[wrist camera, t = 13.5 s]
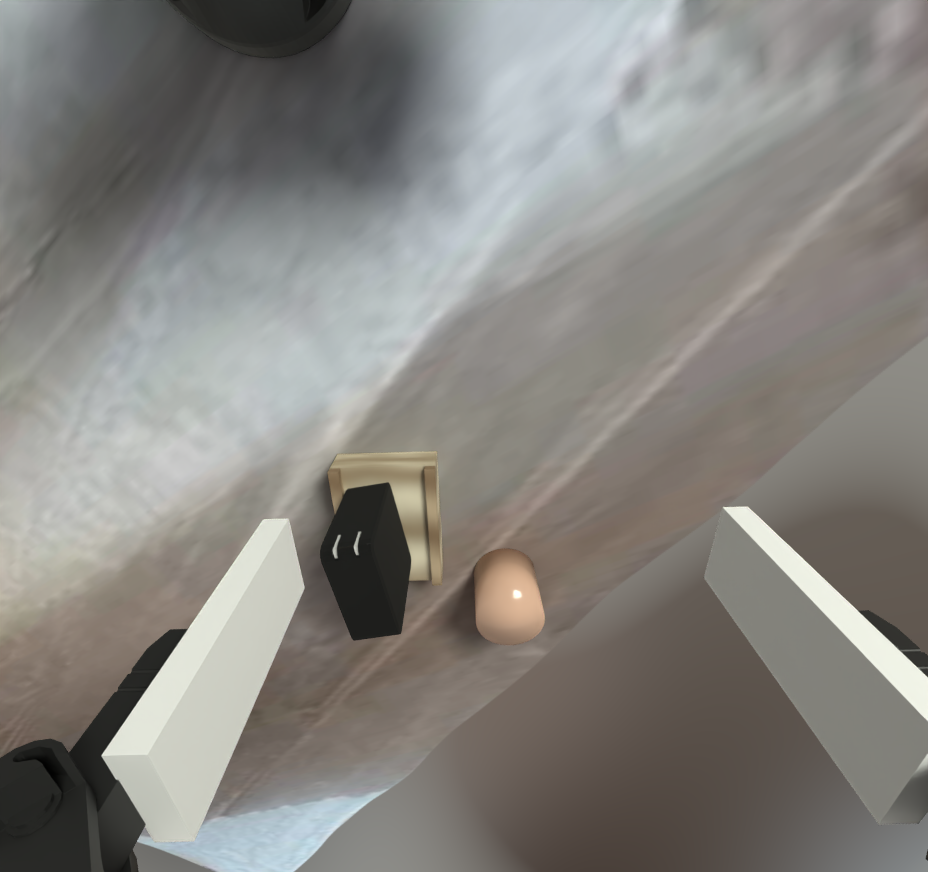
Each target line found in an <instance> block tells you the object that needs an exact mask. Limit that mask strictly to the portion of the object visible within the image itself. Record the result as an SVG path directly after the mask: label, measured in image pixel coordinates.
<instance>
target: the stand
mask: <svg viewBox="0 0 928 872" xmlns="http://www.w3.org/2000/svg"><path fill="white" fill-rule="evenodd" d="M327 473H328V479H329V485H330V490H331V496H332V501H333V507H334V513H335V514H336V512H337V510H338V507H339V505H340V503H341V501H342V498H343V496H344V494H345V491H346V490H347V489H349V488H355V487H362V486H368V485H374V484H380V483H386V482H389V483H390V486H391V489H392V492H393V496H394V499H395V503H396V506H397V509H398V513H399V516H400V520H401V523H402V527H403V530H404V534H405V537H406V541H407V544H408V548H409V551H410V555H411V570H410V577H409V581H415V580H432V585H442V572H443V551H442V534H441V516H440V498H439V481H438V463H437V451H433V452H395V453H357V454H337V456H336V458H335V460H334V462H333V463H332V465H331V467H330V469H329V471H328V472H327Z"/></svg>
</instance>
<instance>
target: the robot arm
mask: <svg viewBox="0 0 928 872" xmlns="http://www.w3.org/2000/svg"><path fill="white" fill-rule="evenodd" d="M166 1H167V2H168V3H169V4H170V5H171V6H172V7H173V8H174V9H175V10H176V11H177V12H178V13H180V14H181V15H182V16H183V17H184V18H185V19H187V20H188V21H189V22H190V23H192V24H193V25H194V26H196V27H197V28H198V29H199V30H201V31H202V32H203V33H205V34H206V35H207V36H209V37H210V38H212V39H213V40H215V41H216V42H218V43H220V44H222V45H223V46H225V47H228V48H230V49H232V50H234V51H237V52H240V53H243V54H246V55H251V56H256V57H266V58H274V57H283V56H288V55H292V54H296V53H298V52H301V51H303V50H305V49H307V48H309V47H311V46H312V45H314V44H316V43H317V42H318V41H320V40H321V39H322V38H324V37H325V36H326V35H327V34H328V33H329V32H330V31H331V30H332V29H333V28H334V27H335V25H336V24H337V23H338V21H339V20H340V19H341V17H342V16H343V14H344V13H345V11H346V9H347V8H348V6H349V4H350V2H351V0H166ZM704 579H705V580H706V581H707V583H708V584H709V586H710V587H711V588H712V590H713V591H714V593H715V594H716V596H717V597H718V598H719V600H720V601H721V603H722V604H723V605H724V607H725V608H726V610H727V611H728V613H729V614H730V615H731V617H732V618H733V620H734V621H735V622H736V624H737V625H738V627H739V628H740V629H741V631H742V632H743V634H744V635H745V637H746V638H747V639H748V641H749V642H750V644H751V645H752V646H753V648H754V649H755V651H756V652H757V653H758V655H759V656H760V658H761V659H762V660H763V662H764V663H765V665H766V666H767V668H768V669H769V670H770V672H771V673H772V675H773V676H774V677H775V679H776V680H777V682H778V683H779V684H780V686H781V687H782V689H783V690H784V691H785V693H786V694H787V696H788V697H789V699H790V700H791V701H792V703H793V704H794V706H795V707H796V708H797V710H798V711H799V713H800V714H801V715H802V717H803V718H804V720H805V721H806V723H807V724H808V725H809V727H810V728H811V730H812V731H813V732H814V734H815V735H816V737H817V738H818V739H819V741H820V742H821V744H822V745H823V746H824V748H825V749H826V751H827V752H828V753H829V755H830V756H831V758H832V759H833V761H834V762H835V763H836V765H837V766H838V768H839V769H840V771H841V772H842V773H843V774H844V776H845V778H846V779H847V780H848V782H849V783H850V784H851V786H852V787H853V789H854V790H855V792H856V793H857V794H858V796H859V797H860V798H861V800H862V802H863V803H864V804H865V806H866V807H867V809H868V810H869V811H870V813H871V814H872V816H873V817H874V818H875V820H876V821H877V823H878V824H914V823H917V824H919V823H920V821H921V820H922V819H923V817H924V816H925V815H926V813H927V812H928V656H927V654H925V653H923V652H921V651H920V648H919V647H918V646H917V645H916V644H914V643H913V642H912V641H911V640H910V639H909V638H908V637H907V636H906V635H904V634H903V633H902V632H901V631H900V630H899V629H898V628H896V627H895V626H893V625H892V624H890V623H888V622H887V621H885V620H883V619H882V618H880V617H879V616H877V615H875V614H874V613H872V612H870V611H869V610H867V611H857V610H856V609H855V608H854V607H853V606H852V605H851V604H850V603H849V602H848V601H847V600H846V599H845V598H843V597H842V596H841V595H840V594H839V593H838V592H837V591H836V590H835V589H834V588H833V587H832V586H831V585H830V584H829V583H828V582H827V581H826V580H825V579H823V578H822V577H821V576H820V575H819V574H818V573H817V572H816V571H815V570H814V569H813V568H812V567H811V566H810V565H809V564H808V563H807V562H805V561H804V560H803V559H802V558H801V557H800V556H799V555H798V554H797V553H796V552H795V551H794V550H793V549H792V548H791V547H790V546H789V545H788V544H787V543H786V542H784V541H783V540H782V539H781V538H780V537H779V536H778V535H777V534H776V533H775V532H774V531H773V530H772V529H771V528H770V527H769V526H767V524H766V523H764V522H763V521H762V520H761V519H760V518H759V517H758V516H757V515H756V514H755V513H754V512H753V511H752V510H751V509H750V508H749V507H722V511H721V515H720V519H719V522H718V527H717V530H716V534H715V538H714V541H713V545H712V549H711V553H710V557H709V561H708V564H707V568H706V572H705V576H704ZM304 589H305V587H304V583H303V579H302V574H301V570H300V566H299V561H298V557H297V553H296V548H295V544H294V540H293V535H292V531H291V527H290V522H289V519H263V521H262V522H261V523H260V525H259V526H258V528H257V529H256V531H255V532H254V534H253V535H252V537H251V538H250V540H249V541H248V542H247V544H246V545H245V547H244V548H243V550H242V551H241V553H240V554H239V556H238V557H237V559H236V560H235V561H234V563H233V564H232V566H231V567H230V569H229V570H228V572H227V573H226V575H225V576H224V577H223V579H222V580H221V582H220V583H219V585H218V586H217V588H216V589H215V591H214V592H213V594H212V595H211V596H210V598H209V599H208V601H207V602H206V604H205V605H204V607H203V608H202V610H201V611H200V613H199V614H198V615H197V617H196V618H195V620H194V621H193V623H192V624H191V626H190V627H189V629H173V630H169V631H168V632H167V633H165V634H164V635H163V636H162V637H161V638H159V639H158V640H157V641H156V642H155V643H153V644H152V645H151V646H150V647H148V648H147V650H146V651H145V652H144V654H143V655H142V656H141V658H140V659H139V660H138V662H137V663H136V664H135V666H134V667H133V668H132V672H131V674H128V675H127V676H126V678H125V679H124V680H123V682H122V683H121V684H120V686H119V687H118V691H117V692H114V694H113V695H112V696H111V698H110V699H109V700H108V702H107V703H106V704H105V706H104V707H103V708H102V710H101V711H100V712H99V714H98V715H97V716H96V718H95V719H94V720H93V722H92V723H91V724H90V726H89V727H88V728H87V730H86V731H85V732H84V734H83V735H82V736H81V738H80V739H79V740H78V742H77V743H76V744H75V746H74V747H73V748H72V750H71V751H70V752H69V753H68V751H67V750H66V748H65V747H64V745H63V744H62V743H61V742H58V741H56V740H53V739H45V740H38V741H33V742H31V743H28V744H26V745H23V746H21V747H18V748H16V749H14V750H12V751H11V752H9V753H7V754H6V755H4V756H3V757H1V758H0V872H138V865H137V859H136V856H135V854H134V852H133V850H132V849H133V847H134V846H135V844H136V842H137V840H138V838H139V836H140V834H141V832H142V830H143V829H144V827H145V828H146V829H147V831H148V833H149V834H150V836H151V838H152V839H153V841H154V842H189V841H195V839H196V836H197V834H198V832H199V829H200V827H201V825H202V823H203V820H204V818H205V816H206V813H207V811H208V809H209V806H210V804H211V802H212V800H213V797H214V795H215V793H216V790H217V788H218V786H219V784H220V781H221V779H222V777H223V774H224V772H225V770H226V767H227V765H228V763H229V761H230V758H231V756H232V754H233V751H234V749H235V747H236V745H237V742H238V740H239V738H240V735H241V733H242V731H243V728H244V726H245V724H246V722H247V719H248V717H249V715H250V712H251V710H252V708H253V706H254V703H255V701H256V699H257V696H258V694H259V692H260V689H261V687H262V685H263V683H264V680H265V678H266V676H267V673H268V671H269V669H270V667H271V664H272V662H273V660H274V657H275V655H276V653H277V650H278V648H279V646H280V644H281V641H282V639H283V637H284V634H285V632H286V630H287V628H288V625H289V623H290V621H291V618H292V616H293V614H294V611H295V609H296V607H297V605H298V602H299V600H300V598H301V595H302V593H303V591H304ZM926 860H928V851H927V855H926Z"/></svg>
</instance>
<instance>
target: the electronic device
mask: <svg viewBox="0 0 928 872" xmlns="http://www.w3.org/2000/svg"><path fill="white" fill-rule="evenodd" d="M320 558H321V562H322V565H323V567H324V570H325V572H326V575H327V577H328V580H329V582H330V585H331V587H332V590H333V592H334V595H335V597H336V600H337V602H338V605H339V608H340V610H341V613H342V615H343V618H344V620H345V623H346V625H347V628H348V630H349V633H350V635H351V638H352V639H353V641H354V640H361V639H368V638H376V637H383V636H390V635H398V634H401V631H402V625H403V618H404V611H405V604H406V597H407V591H408V584H409V577H410V570H411V555H410V551H409V548H408V544H407V541H406V537H405V534H404V530H403V527H402V523H401V520H400V516H399V513H398V509H397V506H396V503H395V499H394V496H393V492H392V489H391V486H390V483H389V482H386V483H380V484H374V485H368V486H362V487H355V488H349V489H347V490H346V491H345V494H344V496H343V498H342V501H341V503H340V505H339V507H338V510H337V512H336V514H335V516H334V519H333V521H332V523H331V525H330V528H329V530H328V532H327V535H326V537H325V539H324V541H323V544H322V546H321V550H320Z"/></svg>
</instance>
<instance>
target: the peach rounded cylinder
mask: <svg viewBox="0 0 928 872" xmlns="http://www.w3.org/2000/svg"><path fill="white" fill-rule="evenodd" d="M474 586H475V610H476V626H477V629H478V631H479V632H480V634H481V635H482V636H483V637H484V638H486V639H487V640H489V641H491V642H493V643H496V644H500V645H517V644H521V643H524V642H527V641H529V640H531V639H532V638H534V637H535V636H536V635H538V633H539V632H540V631H541V630H542V628H543V626H544V622H545V615H544V611H543V606H542V602H541V597H540V593H539V588H538V584H537V579H536V575H535V570H534V566H533V563H532V561H531V560H530V559H529V557H528V556H526V555H525V554H524V553H522V552H520V551H517V550H514V549H497V550H494V551H491V552H489V553H487V554H485V555H484V556H483V557H481V558H480V559H479V561H478V562H477V564H476V566H475V569H474Z"/></svg>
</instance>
